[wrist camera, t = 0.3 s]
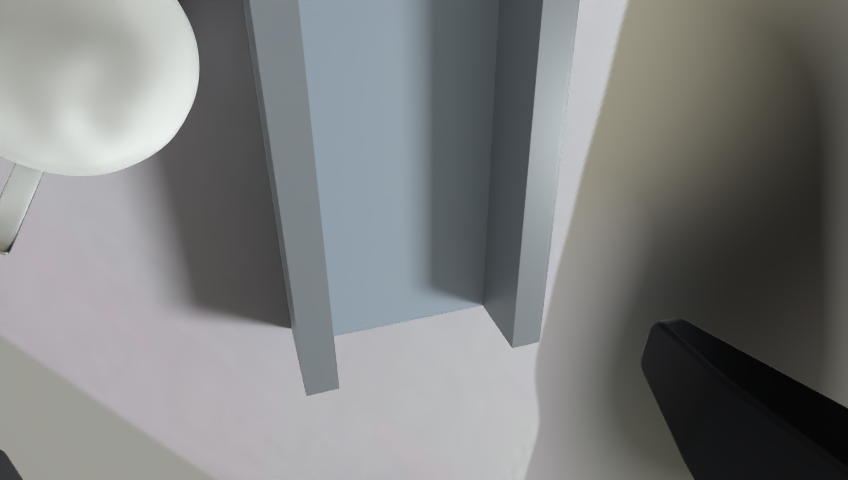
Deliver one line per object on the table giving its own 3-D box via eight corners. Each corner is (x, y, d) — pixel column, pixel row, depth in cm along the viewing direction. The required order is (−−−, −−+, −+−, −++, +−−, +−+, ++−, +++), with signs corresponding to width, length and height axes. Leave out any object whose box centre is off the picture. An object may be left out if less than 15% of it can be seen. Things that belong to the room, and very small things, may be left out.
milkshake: (-8, 55, 17) (-186, 209, 9) (45, -135, 16) (-113, -152, 8) (157, 117, 20) (132, 286, 11) (218, -44, 18) (241, 19, 10)
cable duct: (498, 287, 28) (539, 341, 25) (291, 329, 25) (306, 395, 22) (544, -373, 17) (630, -436, 13) (180, -416, 14) (177, -505, 11)
